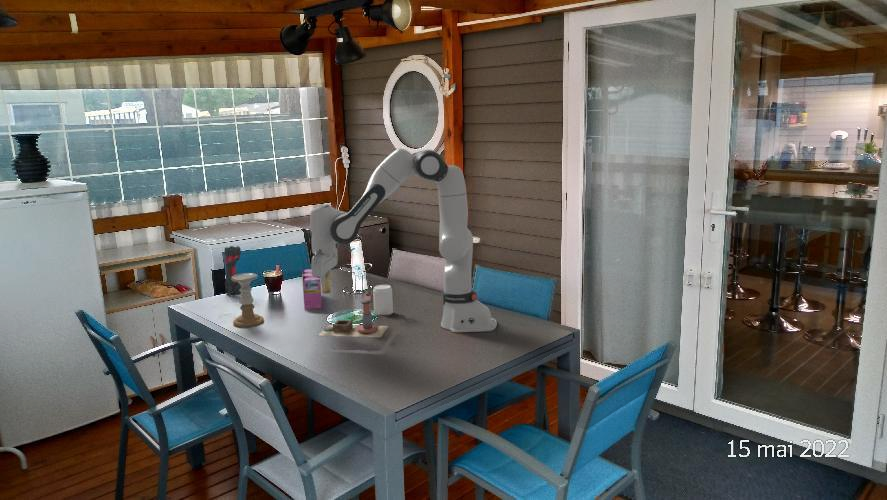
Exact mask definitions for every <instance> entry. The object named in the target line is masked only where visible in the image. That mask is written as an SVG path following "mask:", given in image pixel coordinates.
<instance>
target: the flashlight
mask: <svg viewBox="0 0 887 500" xmlns="http://www.w3.org/2000/svg"><path fill="white" fill-rule="evenodd" d="M241 255H242V252H241V247H240V246H239V245H237V246H234V245H233V246H229V247H227V246H225V248H224V259H225V262H224V263H225V271H226V281H225V282H224V286H225V294H226V295H230V296H231V295H233V294H235V295H239V294H241V292H240V291H239V290H240V288H241V285H240V284H239V283H238V282H236V281H232V280H231V277H232V276H234V275H237V267H236V266H237V262H239V260H240V259H241Z"/></svg>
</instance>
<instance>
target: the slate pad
mask: <svg viewBox="0 0 887 500" xmlns="http://www.w3.org/2000/svg"><path fill="white" fill-rule="evenodd" d="M323 330H324V331H333V327H327V326H325V327H324V328H323ZM323 330H322V331H323Z"/></svg>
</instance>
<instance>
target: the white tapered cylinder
mask: <svg viewBox="0 0 887 500" xmlns="http://www.w3.org/2000/svg"><path fill="white" fill-rule="evenodd" d="M372 296H373V297H372V298H373V313H374V315H376V316H389V315H390V316H391V315H392V314H393V313H394V303H393V301H394V300H393V288H392V286H391V285H389V284H379V285H375V286H374V287H373V290H372Z"/></svg>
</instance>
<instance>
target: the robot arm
mask: <svg viewBox="0 0 887 500" xmlns="http://www.w3.org/2000/svg"><path fill="white" fill-rule="evenodd" d="M412 175H417V176H419V177H420V178H421V179H425V180H427V181H433V182H435V183H436V188H437V197H438V207H439V208H438V209H439V229H438V230H439V231H438V232H439V234H438V235H439V237H438V240H439V244H438V245H439V246H438V251H439V254H440V256H441V257H442V258H443V259H444V265H443V266H444V268H443V275H442V277H443V291H442V305H443V310H442V318H441V322H440V326H441V328H443V329H445V330H448V331H451V332H452V333H474V332H478V333H479V332H492V331H494V330H495V329H496V328H497V325H498V321H497V320H496V318H494V317H492V314H491V310H490V309H489V307H488V306H487V305H485V304H483V303H482V302H481V301H479V300H478V295H477V290H475V291H474V290H473V289H472V267H473V266H472V265H473V251H474V249H473V248H474V236H473V233H472V231H471V230H470V229H469V228H468V221H469V220H468V218H469V207H468V196H467V195H468V193H467V185H466V179H465V177H464V173H463V170H462V168H461V167H459V166H457V165H452V164H449V165H448V164H447V163H446V161H444V158H443V157H442V156H441V155H440V154H439V153H438V152H437V151H436V150H432V149H423V150H420V151H417V152H415V153H411V152H410V151H409V150H407V149H404V148H397V149H394V151H392V152H391V153H389V155H388V156H386V157H385V158H384V159H383V160H382V161H381V162H380V164H379V165H378V166H376V168H375V169H374V171H373V172H372V174H371V176H370V177H369V180H368V182H367V185H366V188H365V190H364V193H363V194H362V196H361V198H360V199H358V201H357V202H356V203H355V204H354V205H353V206H352V208H351V209H350V210H349V211H348V212H346V211H342V210H339V209H336V208H335V207H333V206H332V205H330V204H322V205H318V206H316V207H313V208H312V210H311V212H310V214H309V215H310V216H309V217H310V219H309V220H310V221H309V226H310V228H309V229H310V231H311V241H310V242H311V253H312V254H314V255H313V256H312V257H311V263H310V264H311V268H310V269H311V270H312V276H313V277H320V283H321V285H322V284H326V283H327V280H326V278H325V274H329V275H330V280H331V278H332V277H331V274H332V269H333V268H334V267H336V266H337V265H338V256H339V253H338V251H339V250H338V248H339V245H340V244H341V245H349V244H351V243H353V242H354V241H355V240H356V239H357V237H358V233H359V232H360V227H361V225H362V224H363V223H364V221H365V220H366V219H367V218H368V217H369V216H370V214H371V213H372V212H373V210H375V208H377V206H378V205H380V204H381V203H382V202H383V201H384V200H386V199H387V198H388V197H389V196H391V195H392V194H393V193H394V192H395V191H396V190H397V189H399V187H400V186H401V185H402V184H403V183H404V181H405V180H407V178H408V177H410V176H412Z"/></svg>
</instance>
